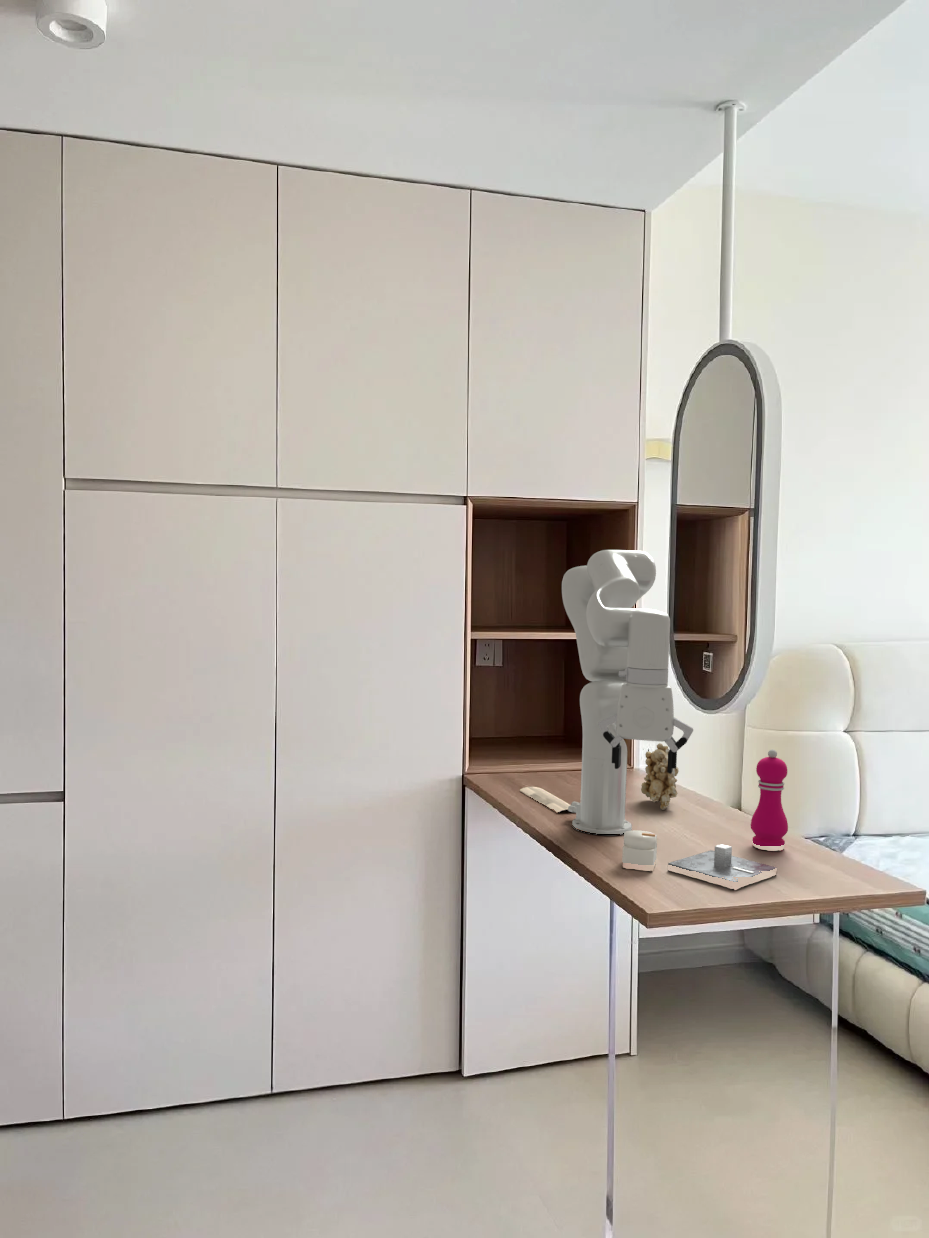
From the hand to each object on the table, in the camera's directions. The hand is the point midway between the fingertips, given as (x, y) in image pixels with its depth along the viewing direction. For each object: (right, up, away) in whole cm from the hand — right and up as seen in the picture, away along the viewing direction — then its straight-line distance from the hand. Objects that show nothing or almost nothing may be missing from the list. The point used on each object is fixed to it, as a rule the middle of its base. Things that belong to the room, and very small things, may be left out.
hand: (643, 769), depth 181 cm
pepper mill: (+28, -19, +17) cm, 38 cm away
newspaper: (-14, -16, +51) cm, 56 cm away
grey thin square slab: (+14, -19, -2) cm, 23 cm away
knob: (-1, -18, +1) cm, 18 cm away
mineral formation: (+13, -17, +51) cm, 55 cm away
